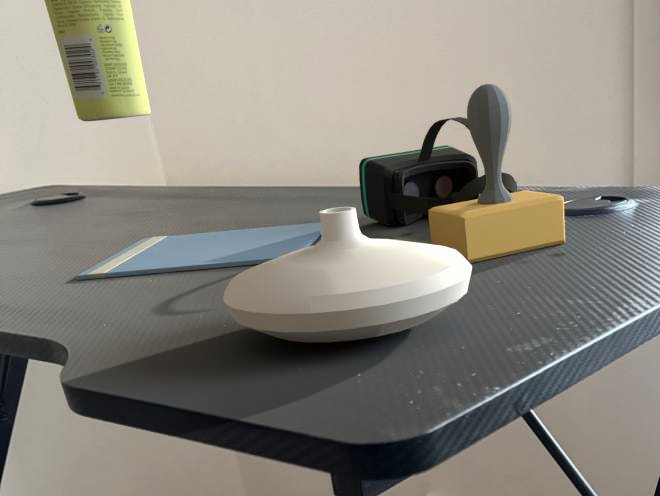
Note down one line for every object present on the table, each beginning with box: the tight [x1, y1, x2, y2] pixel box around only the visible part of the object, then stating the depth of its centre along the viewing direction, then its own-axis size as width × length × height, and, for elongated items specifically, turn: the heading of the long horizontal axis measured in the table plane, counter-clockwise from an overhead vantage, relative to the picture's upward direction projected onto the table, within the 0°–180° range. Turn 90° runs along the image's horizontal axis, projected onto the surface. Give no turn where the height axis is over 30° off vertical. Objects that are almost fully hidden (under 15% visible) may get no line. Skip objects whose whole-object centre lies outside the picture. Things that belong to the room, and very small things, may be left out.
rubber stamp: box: [428, 83, 566, 264], centre depth 74 cm, size 10×6×12 cm, turn 120°
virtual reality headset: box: [358, 116, 518, 227], centre depth 89 cm, size 11×17×10 cm, turn 31°
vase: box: [222, 206, 473, 343], centre depth 58 cm, size 16×16×7 cm
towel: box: [76, 221, 322, 281], centre depth 90 cm, size 20×18×1 cm
